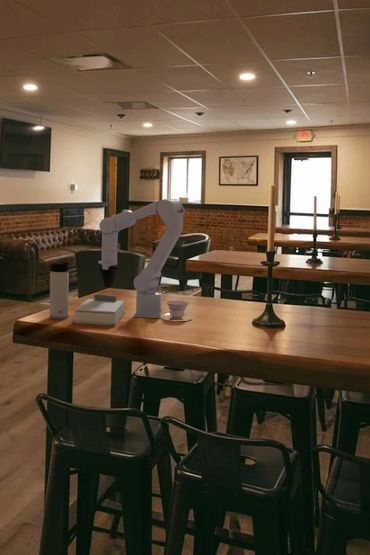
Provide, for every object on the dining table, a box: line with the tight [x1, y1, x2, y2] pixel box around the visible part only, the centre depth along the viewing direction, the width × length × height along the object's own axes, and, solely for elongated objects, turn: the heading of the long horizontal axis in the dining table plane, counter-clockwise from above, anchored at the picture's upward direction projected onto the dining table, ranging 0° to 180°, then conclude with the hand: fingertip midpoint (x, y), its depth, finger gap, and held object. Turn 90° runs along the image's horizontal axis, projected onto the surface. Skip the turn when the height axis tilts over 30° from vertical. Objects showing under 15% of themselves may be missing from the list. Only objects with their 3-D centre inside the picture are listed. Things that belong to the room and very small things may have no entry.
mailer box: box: [74, 302, 126, 326], centre depth 189 cm, size 14×18×4 cm
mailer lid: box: [74, 294, 125, 313], centre depth 188 cm, size 14×18×2 cm
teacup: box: [159, 299, 193, 323], centre depth 194 cm, size 12×12×6 cm
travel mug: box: [49, 261, 70, 321], centre depth 185 cm, size 6×7×20 cm
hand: (108, 285), depth 200 cm, fingers open, 4 cm apart
